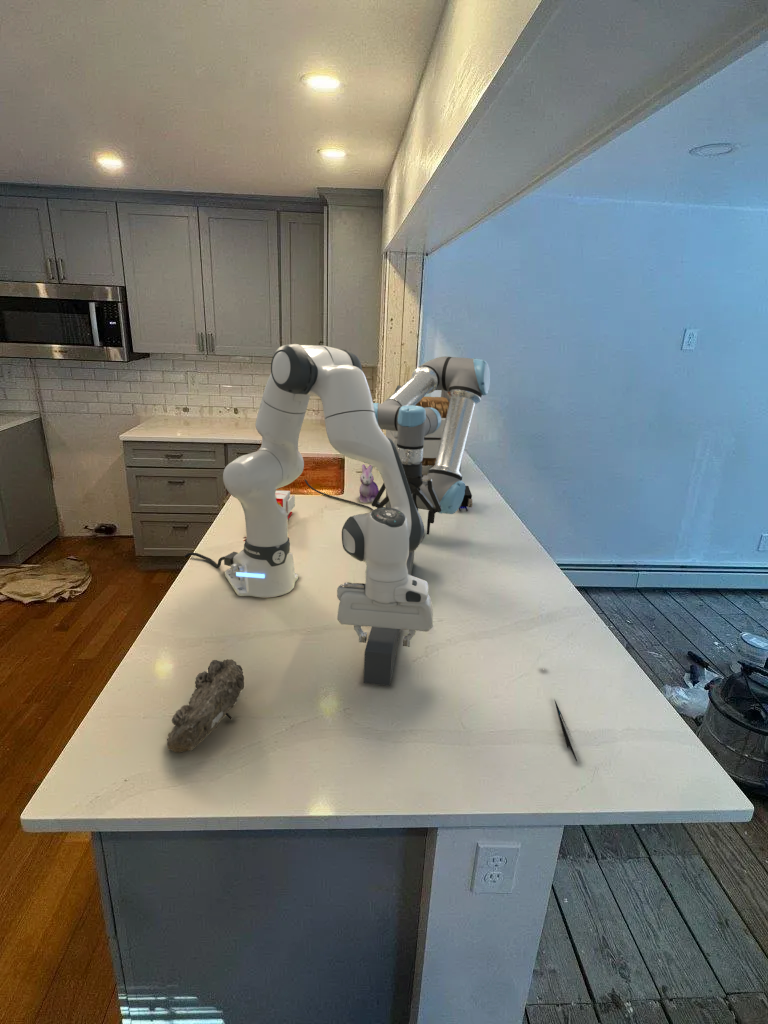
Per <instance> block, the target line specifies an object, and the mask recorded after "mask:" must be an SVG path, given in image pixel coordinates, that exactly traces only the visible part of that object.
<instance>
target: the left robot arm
mask: <svg viewBox="0 0 768 1024" xmlns="http://www.w3.org/2000/svg"><path fill="white" fill-rule="evenodd" d="M371 392H372V391H371V389H370V386H369V383H368V380H367V377H366V375H365V373H364V371H363V367H362V363H361V360H360V359H359V357H358V356H357V355H356V354H355V353H354V352H351V351H349V350H347V349H344V348H336V347H331V346H328V345H322V344H317V345H315V344H299V343H288V344H284V345H281V346H279V347H278V348H277V349H276V350H275V352H274V354H273V356H272V358H271V363H270V374H269V376H268V379H267V381H266V384H265V387H264V390H263V393H262V396H261V400H260V405H259V409H258V412H257V415H256V420H255V429H256V432H257V433H258V434H259V435H260V436H261V445H260V447H259V449H257V450H256V451H253V452H250V453H247V454H243V455H240V456H238V457H237V458H235V459H234V460H232V461H231V462H230V463H228V464H227V465H226V466H225V467H224V469H223V472H222V482H223V485H224V487H225V489H226V491H227V492H228V494H229V495H230V496H232V497H233V498H235V499H236V500H238V501H239V504H240V505H241V508H242V511H243V513H244V520H245V533H246V536H244V537H243V540H242V541H243V542H244V544H243V549H242V550H240V551H239V552H237V551H232V552H231V553H228V554H227V555H224V556H221V557H219V558H218V561H217V563H216V561H214V560H213V559H212V558H210V557H208V556H205V555H203V554H201V553H198V552H195V551H194V552H195V553H194V552H193V551H191V552H187V553H186V554H185V555H184V558H188V557H190V556H195V557H198V558H200V559H203V560H205V561H207V562H209V563H210V564H212V565H213V566H214V567H215V568H220V567H221V565H222V561H223V564H224V566H229V567H230V568H227V569H226V570H225V571H224V577H225V578H226V580H227V582H228V583H229V584H230V586H231V587H232V589H233V590H234V592H235V593H236V595H237V596H239V597H254V598H255V597H256V598H261V599H262V598H264V599H265V598H266V599H267V598H275V597H280V596H283V595H286V594H288V593H290V592H291V591H292V590H293V589H294V588H295V585H296V582H297V580H298V579H299V574H298V573H296V571H295V562H294V554H293V553H292V552H291V542H290V537H289V522H288V521H289V519H288V515H287V512H286V510H285V509H284V508H283V507H282V506H280V505H278V503H277V501H276V496H275V492H276V490H278V489H280V488H283V487H285V486H289V485H290V484H292V483H293V482H294V481H296V480H297V479H298V478H299V477H301V475H302V473H303V472H304V468H305V461H304V457H303V455H302V454H301V452H300V451H299V438H300V433H301V431H302V428H303V427H302V426H303V423H304V419H305V417H306V412H307V411H308V410H307V409H308V405H309V402H310V399H311V396H317V397H319V398H320V400H321V403H322V411H323V418H324V425H325V426H324V427H325V431H326V436H327V439H328V442H329V444H330V445H331V447H332V448H333V449H334V450H335V451H336V452H337V453H339V454H340V455H342V456H344V457H346V458H349V459H351V460H354V461H357V462H362V463H364V464H367V465H368V466H369V465H371V466H373V468H374V469H375V470H377V472H378V473H379V474H380V476H381V478H382V481H383V482H384V485H385V488H386V489H385V492H386V491H387V494H388V497H389V500H390V504H391V508H388V507H385V506H383V507H382V508H377V507H376V508H375V509H373V511H371V510H370V512H366V513H365V512H364V513H359V514H358V513H357V514H355V515H352V516H349V517H348V518H347V519H346V520H345V521H344V523H343V526H342V528H341V544H342V548H343V550H344V552H346V553H347V554H348V555H349V556H350V557H352V558H354V559H355V560H357V561H359V562H364V563H365V564H366V569H365V573H364V575H365V576H364V578H365V580H364V583H361V582H358V583H357V582H349V581H348V582H347V581H346V582H344V583H342V584H340V585H338V587H337V589H336V596H337V600H338V601H339V604H338V608H337V609H338V610H337V621H338V622H339V623H340V624H341V625H347V626H353V630H354V632H355V633H356V635H357V636H358V643H360V644H361V643H363V644H367V641H368V639H367V638H368V637H367V636H368V632H367V631H364V630H363V629H362V627H370V628H372V627H380V628H392V629H401V630H404V631H408V634H407V635H403V637H402V647H406V648H407V647H410V646H411V640H412V639H413V638H414V636H415V635H416V632H417V631H418V632H429V631H430V630H432V628H433V621H434V612H433V602H432V597H431V596H430V595H429V583H428V581H427V580H425V579H422V578H419V577H416V576H414V575H412V574H411V575H409V574H408V569H407V559H408V556H409V552H413V551H414V552H415V551H416V550H417V549H418V548H419V546H420V545H421V543H422V541H423V540H424V537H425V531H426V529H425V524H424V521H423V519H422V517H421V515H420V512H419V509H418V510H417V508H416V506H415V504H414V501H413V498H412V494H411V491H410V488H409V485H408V482H407V479H406V475H405V472H404V469H403V466H402V463H401V460H400V457H399V454H398V452H397V449H396V447H395V445H394V443H393V441H392V440H391V439H390V438H388V437H386V434H385V433H384V432H383V429H380V427H379V425H378V423H377V420H376V416H375V410H374V405H373V403H374V400H373V396H372V393H371Z"/></svg>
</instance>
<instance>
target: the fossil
mask: <svg viewBox="0 0 768 1024" xmlns="http://www.w3.org/2000/svg"><path fill="white" fill-rule="evenodd" d="M243 670H244V669H243V667H242V665H240V664H237V662H236V661H235V660H234V659H232V658H231V659H227V658H226V659H224V660H223V661H222V660H217V659H212V660H211V661H210V663H209V665H208V666H207V671H201V672H199V673H198V674H197V675H196V676H195V680H194V684H195V685H194V687H195V689H194V690H193V693H192V694H191V697H190V698H189V700H188V704H184V705H182V706H181V707H180V709H177V710H176V711H175V713H174V715H173V716H172V718H171V723H172V724H173V727H172V730H171V731H170V732H168V734H167V738H166V741H167V742H166V745H167V749H168V750H169V751H173V752H174V753H176V754H178V753H182V752H188V751H189V752H192V751H193V750H195V748H196V747H197V746H199V744H200V743H201V742H203V741H204V740H205V739H206V738H207V737H208V736H209V735H210V734H211V733H212V732H214V730H215V729H217V727H218V726H219V724H220V722H221V721H222V720H223V719H224V718H225V716H226V717H227V719H229V720H233V717H232V715H230V714H229V710H230V709H231V708H234V706H235V704H236V703H237V702H238V699H239V697H240V695H241V693H242V691H243V690H245V689H244V688H245V675H244V671H243Z"/></svg>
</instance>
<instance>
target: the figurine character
mask: <svg viewBox="0 0 768 1024" xmlns="http://www.w3.org/2000/svg"><path fill="white" fill-rule="evenodd" d="M472 497H473V495H472V492H471V489H470V486H469V485H465V494H464V498H463V501H462V503H461V505H460V507H459V509H458V511H459V512H461V511H462V510H461V509H465V511H466V512H468V511H469V510H468V508H472V507H473V498H472Z"/></svg>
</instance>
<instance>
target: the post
mask: <svg viewBox="0 0 768 1024" xmlns="http://www.w3.org/2000/svg"><path fill="white" fill-rule="evenodd" d="M414 559H415V551H413V552H409V556H408V559H407V569H408V574H409V575H412V572H413V568H414ZM369 631H370V632H369V635H368V637H367V638H368V639H367V641H366V645H365V648H364V659H363V684H369V685H379V686H386V687H390V686H391V682H392V676H393V671H394V666H395V661H396V656H397V650H398V645H399V640H400V634H401V631H402V629H392V628H380V627H370V630H369Z"/></svg>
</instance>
